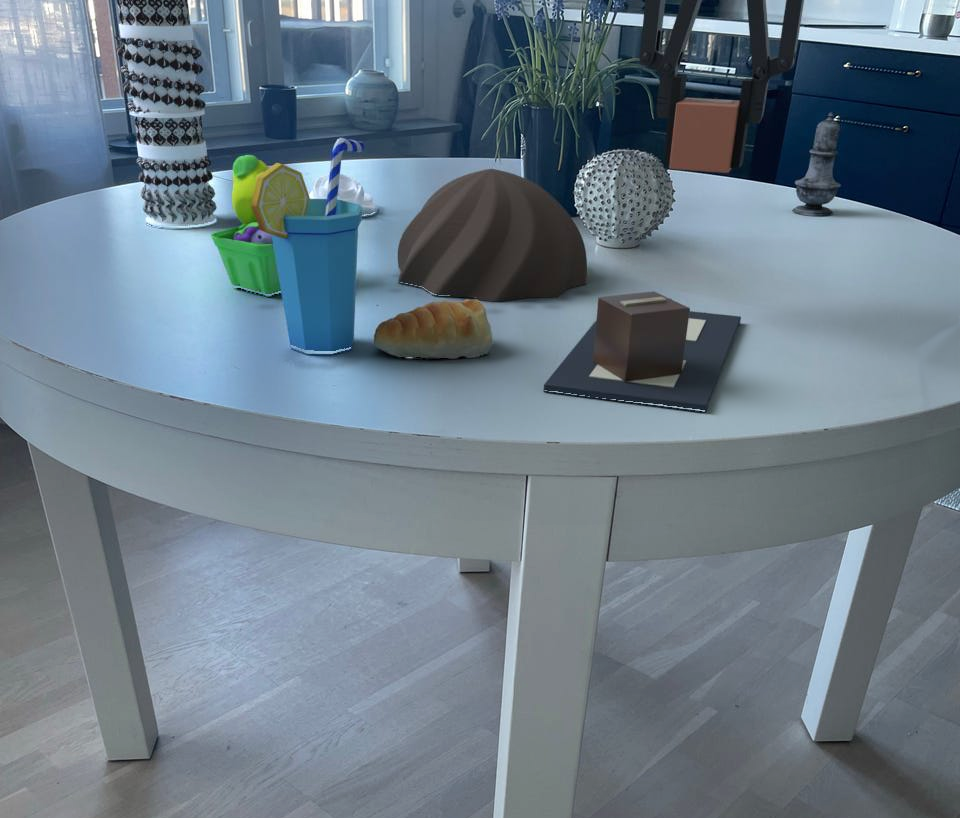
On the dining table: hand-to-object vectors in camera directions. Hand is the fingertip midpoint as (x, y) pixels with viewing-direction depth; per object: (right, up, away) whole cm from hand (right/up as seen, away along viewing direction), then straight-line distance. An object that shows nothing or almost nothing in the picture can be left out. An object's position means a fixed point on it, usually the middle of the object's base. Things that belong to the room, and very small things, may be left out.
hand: (703, 163), depth 88 cm
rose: (-37, +13, +42) cm, 58 cm away
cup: (-32, -17, -3) cm, 36 cm away
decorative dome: (-18, -4, +17) cm, 25 cm away
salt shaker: (+25, +16, +49) cm, 57 cm away
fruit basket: (-39, -6, +13) cm, 41 cm away
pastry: (-23, -18, -4) cm, 29 cm away
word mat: (-5, -18, -4) cm, 19 cm away
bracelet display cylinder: (-55, +9, +36) cm, 67 cm away
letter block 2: (0, 0, 0) cm, 0 cm away
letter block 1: (-7, -20, -9) cm, 23 cm away
